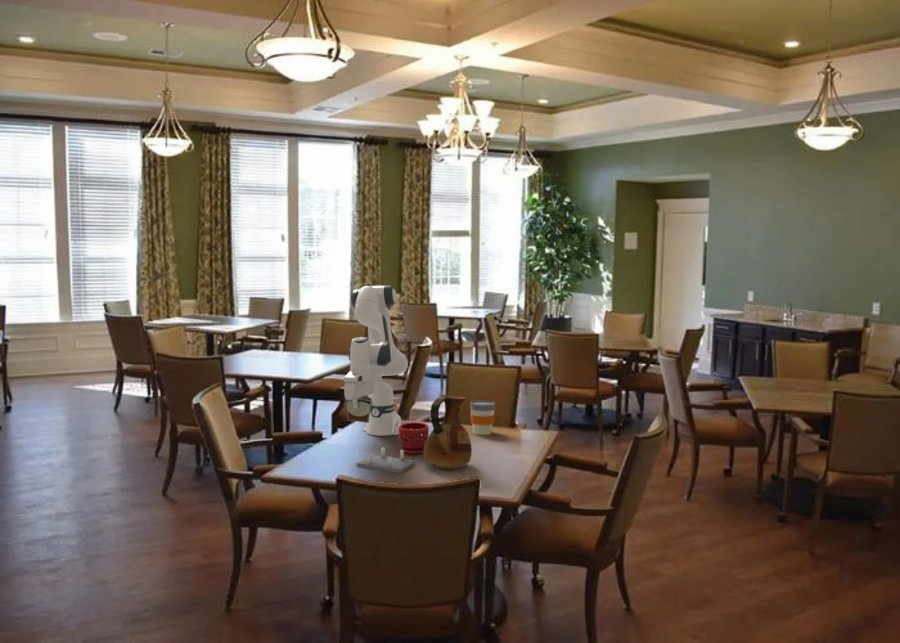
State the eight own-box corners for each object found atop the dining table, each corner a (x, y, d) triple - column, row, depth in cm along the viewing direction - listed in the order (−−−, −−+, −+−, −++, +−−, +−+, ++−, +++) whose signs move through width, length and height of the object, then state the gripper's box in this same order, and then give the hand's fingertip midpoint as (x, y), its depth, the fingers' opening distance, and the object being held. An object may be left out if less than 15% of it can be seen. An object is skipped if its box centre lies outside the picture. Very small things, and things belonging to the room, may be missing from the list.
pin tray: (373, 458, 334) (373, 445, 333) (415, 464, 326) (415, 451, 326) (357, 466, 321) (357, 453, 321) (400, 473, 313) (400, 459, 313)
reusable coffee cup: (466, 434, 378) (467, 404, 377) (473, 428, 390) (473, 399, 389) (491, 436, 375) (492, 406, 373) (497, 430, 387) (498, 401, 385)
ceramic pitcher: (480, 466, 325) (482, 396, 322) (446, 476, 311) (447, 402, 308) (448, 456, 339) (449, 389, 336) (413, 465, 325) (415, 394, 322)
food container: (376, 420, 336) (377, 397, 335) (371, 423, 331) (371, 400, 329) (350, 416, 340) (351, 394, 339) (344, 419, 334) (345, 397, 333)
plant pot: (409, 446, 354) (409, 420, 353) (433, 451, 348) (434, 424, 346) (392, 452, 343) (393, 426, 342) (417, 457, 336) (418, 430, 335)
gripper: (366, 371, 344) (366, 402, 345) (341, 378, 325) (341, 410, 326) (378, 372, 341) (378, 403, 343) (354, 379, 323) (354, 411, 324)
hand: (360, 407), depth 334 cm, fingers closed on food container, 5 cm apart
